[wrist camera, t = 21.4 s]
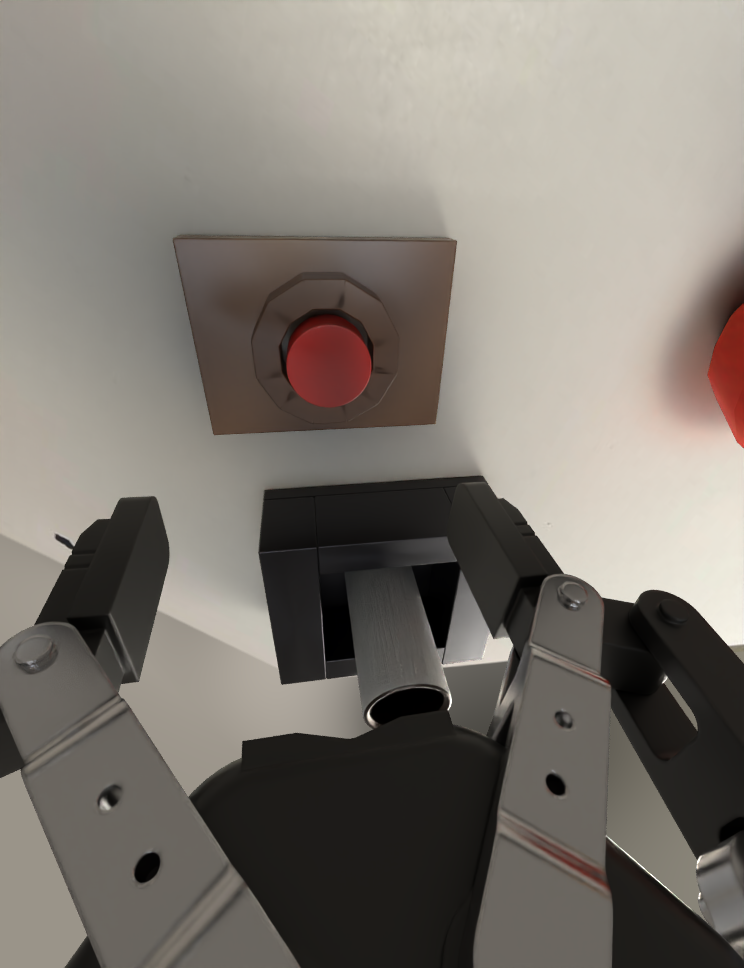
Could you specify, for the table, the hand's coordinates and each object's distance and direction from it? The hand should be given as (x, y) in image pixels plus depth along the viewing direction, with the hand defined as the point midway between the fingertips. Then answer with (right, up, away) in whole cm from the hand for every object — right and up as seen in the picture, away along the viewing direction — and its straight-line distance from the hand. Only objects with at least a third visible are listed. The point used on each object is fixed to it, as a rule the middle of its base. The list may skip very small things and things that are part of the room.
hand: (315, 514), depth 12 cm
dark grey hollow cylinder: (+2, -5, +18) cm, 19 cm away
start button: (0, +7, +8) cm, 10 cm away
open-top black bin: (+2, -4, +19) cm, 19 cm away
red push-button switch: (-1, +8, +10) cm, 13 cm away
